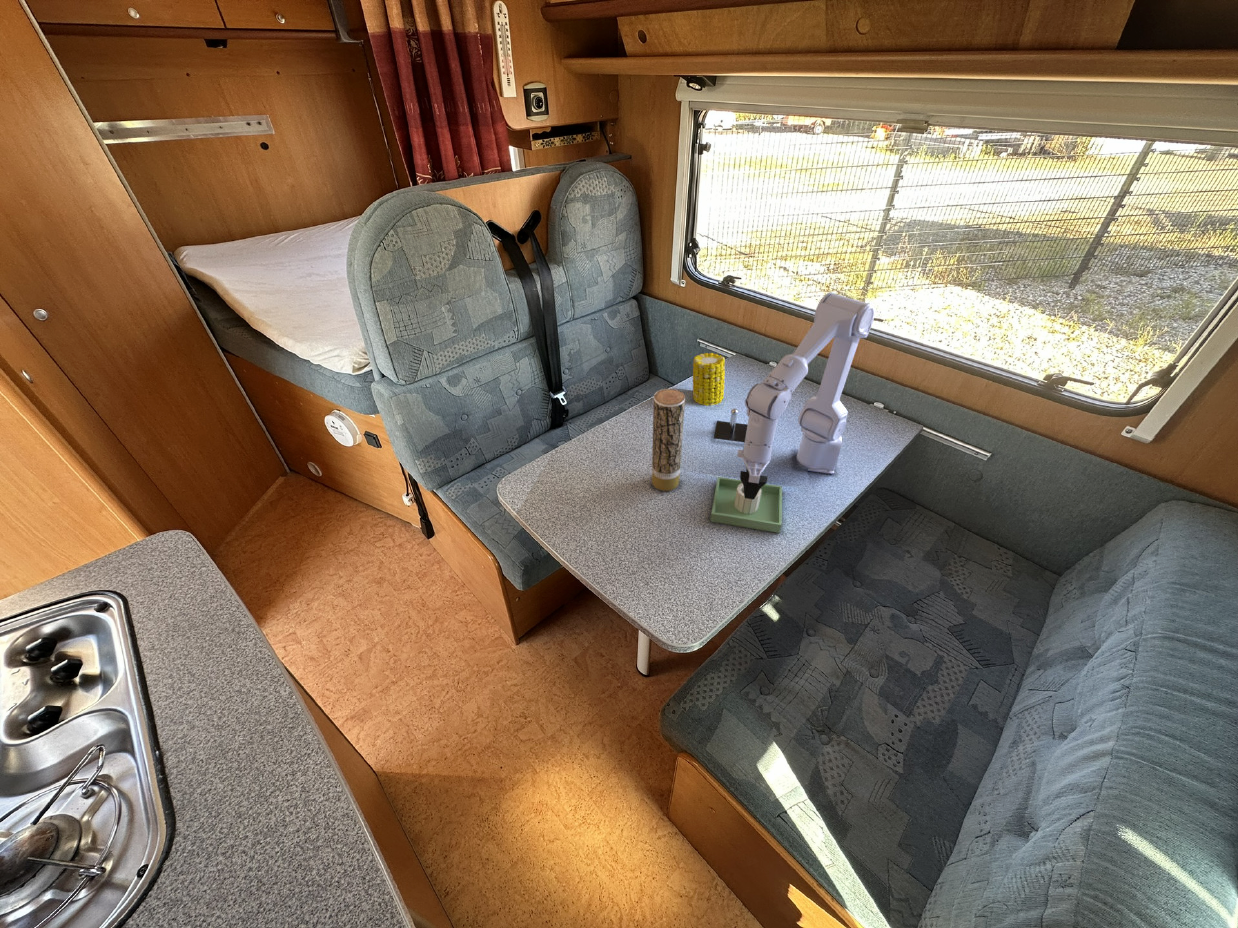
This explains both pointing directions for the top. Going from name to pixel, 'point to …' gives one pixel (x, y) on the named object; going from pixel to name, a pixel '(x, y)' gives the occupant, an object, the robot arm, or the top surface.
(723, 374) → the food
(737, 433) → the stand
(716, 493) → the tray
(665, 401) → the bark log
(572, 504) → the top surface
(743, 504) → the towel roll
